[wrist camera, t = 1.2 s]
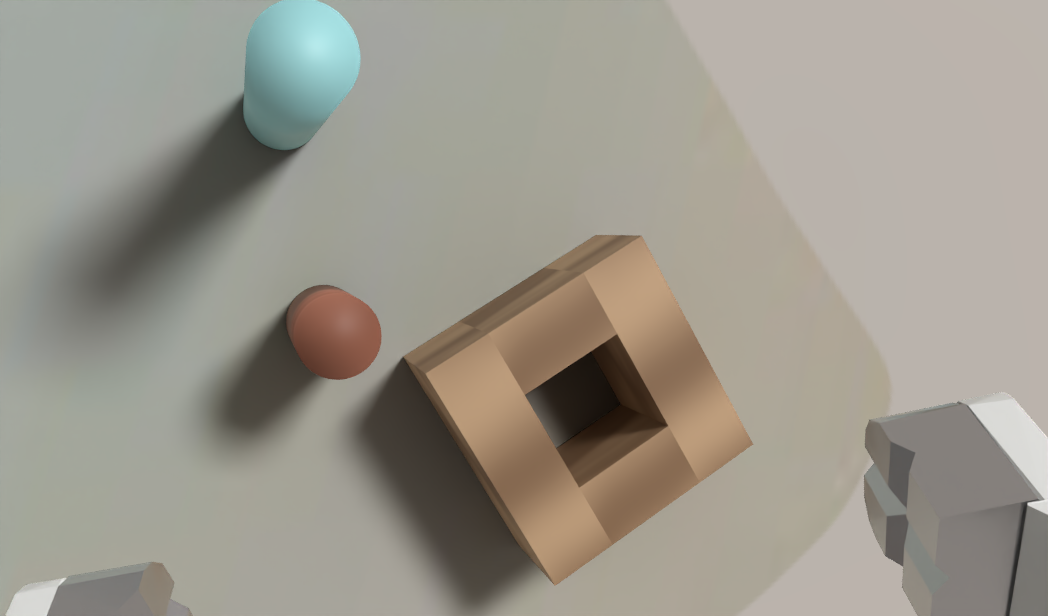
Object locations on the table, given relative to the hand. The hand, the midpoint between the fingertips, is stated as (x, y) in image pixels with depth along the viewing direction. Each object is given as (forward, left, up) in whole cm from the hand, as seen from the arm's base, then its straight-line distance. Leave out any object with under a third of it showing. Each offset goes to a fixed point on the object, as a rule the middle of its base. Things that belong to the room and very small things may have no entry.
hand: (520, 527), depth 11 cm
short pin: (0, 0, -30) cm, 30 cm away
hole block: (+8, +7, -30) cm, 32 cm away
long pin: (-8, +3, -30) cm, 31 cm away
